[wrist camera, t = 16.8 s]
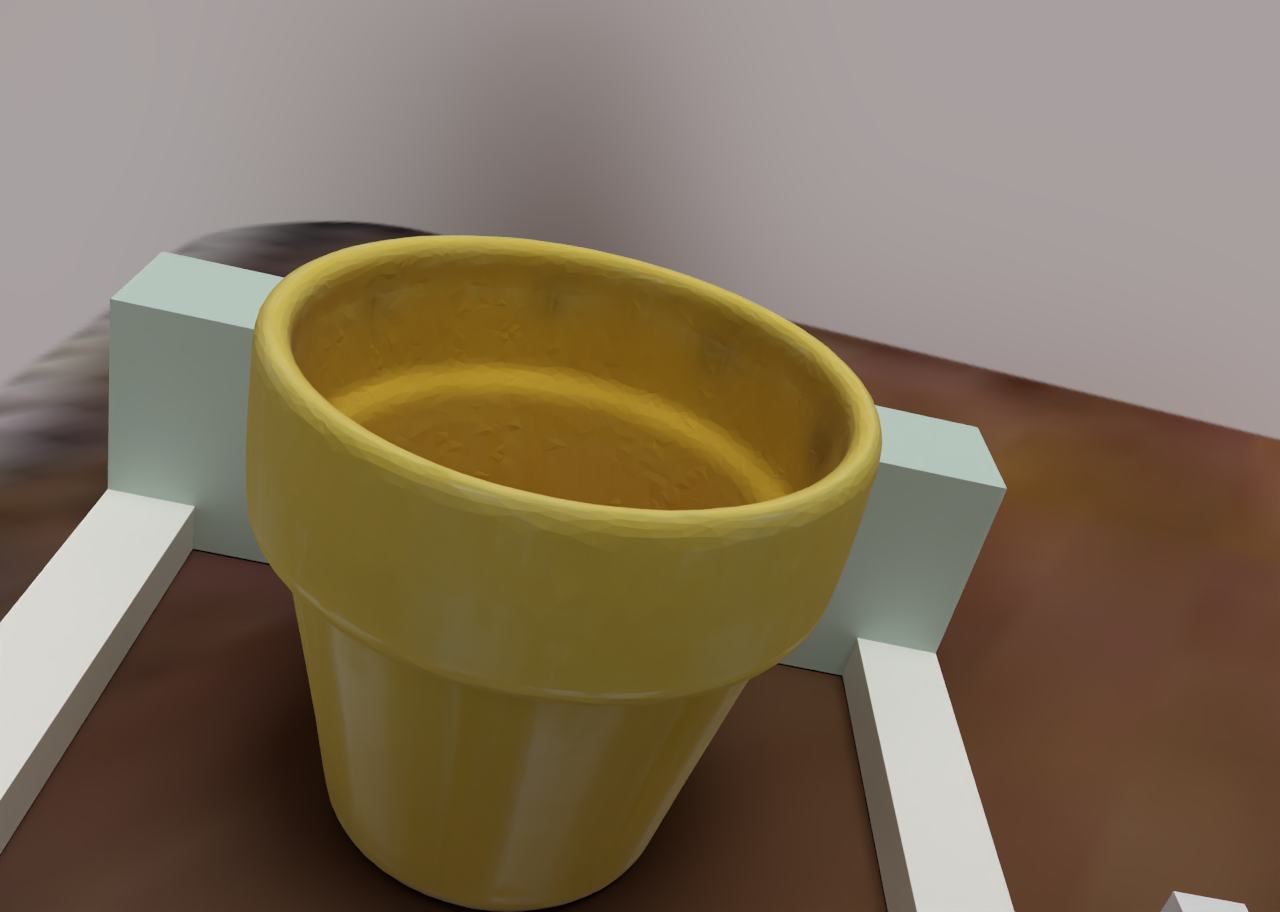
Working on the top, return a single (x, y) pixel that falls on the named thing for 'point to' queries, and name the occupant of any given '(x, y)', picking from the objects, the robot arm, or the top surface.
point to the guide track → (219, 522)
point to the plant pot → (538, 540)
